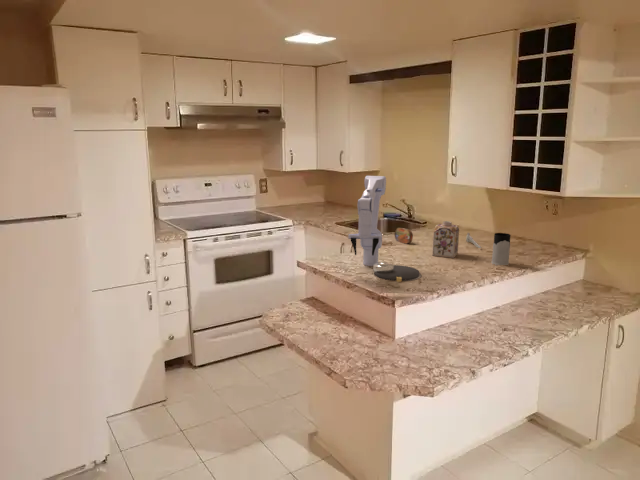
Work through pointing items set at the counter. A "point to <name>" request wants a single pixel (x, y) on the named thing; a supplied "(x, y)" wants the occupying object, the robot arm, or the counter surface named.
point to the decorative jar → (445, 240)
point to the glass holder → (501, 249)
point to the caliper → (471, 240)
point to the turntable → (400, 273)
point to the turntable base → (408, 280)
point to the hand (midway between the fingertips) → (364, 254)
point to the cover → (383, 267)
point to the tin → (403, 235)
